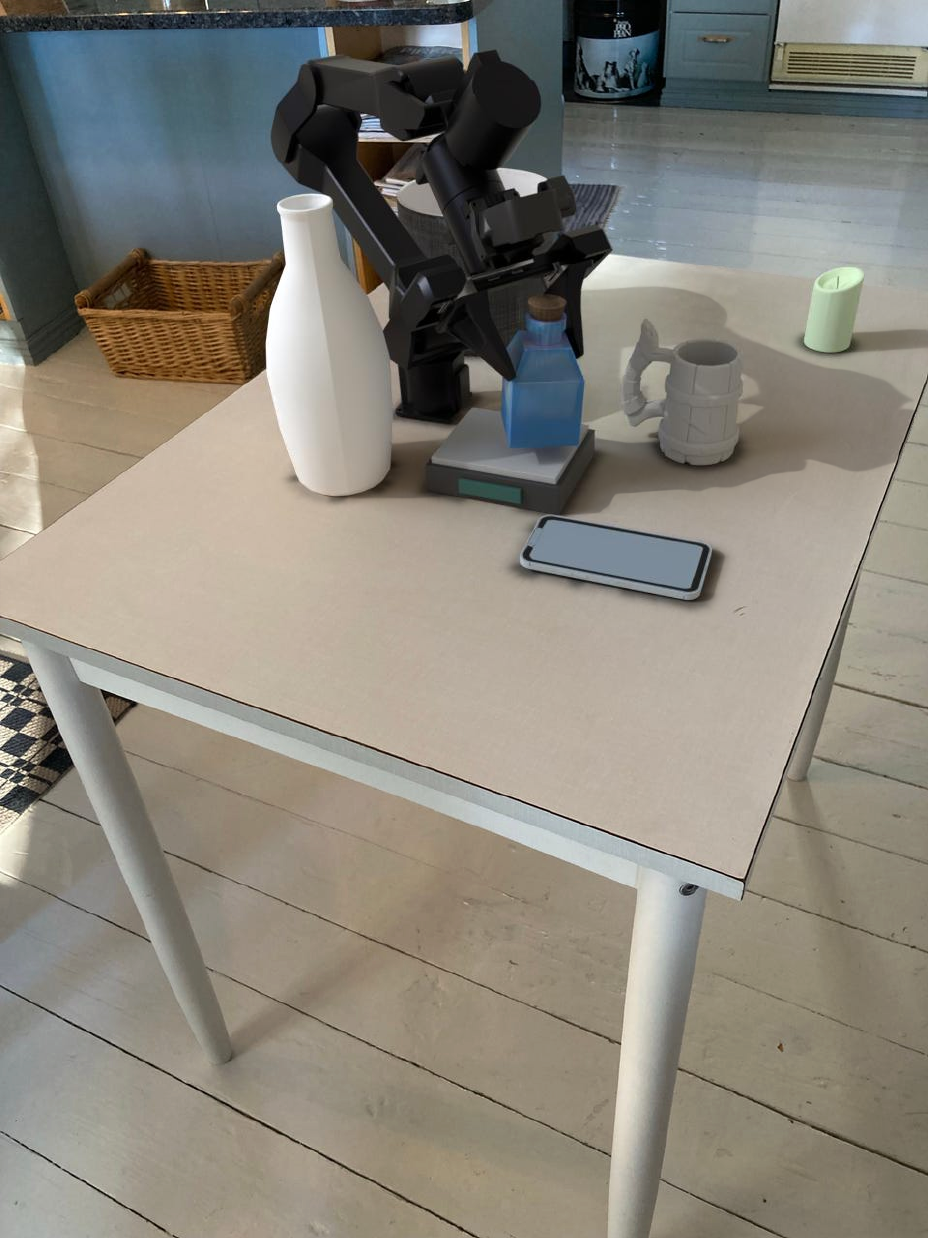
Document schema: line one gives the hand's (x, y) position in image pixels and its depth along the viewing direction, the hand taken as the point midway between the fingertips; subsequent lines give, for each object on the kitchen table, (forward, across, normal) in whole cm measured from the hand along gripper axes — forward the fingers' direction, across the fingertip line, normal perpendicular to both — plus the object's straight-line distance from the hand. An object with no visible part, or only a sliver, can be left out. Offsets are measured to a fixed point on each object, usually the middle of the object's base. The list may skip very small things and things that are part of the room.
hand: (546, 368), depth 85 cm
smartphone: (+18, -2, -1) cm, 18 cm away
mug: (+9, +15, +8) cm, 20 cm away
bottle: (-1, -14, +18) cm, 23 cm away
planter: (-16, +15, +34) cm, 40 cm away
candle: (+4, +43, +13) cm, 46 cm away
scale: (+6, -1, +12) cm, 13 cm away
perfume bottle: (+4, 0, +6) cm, 7 cm away
